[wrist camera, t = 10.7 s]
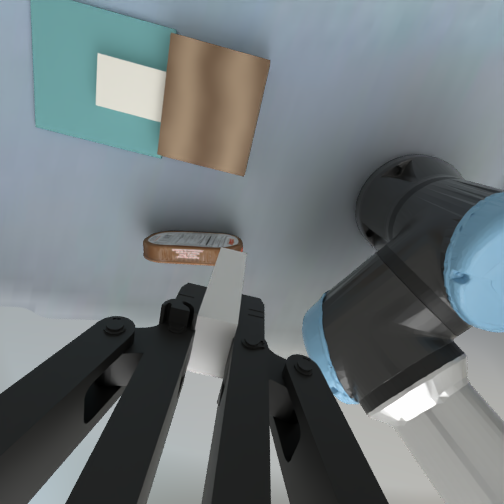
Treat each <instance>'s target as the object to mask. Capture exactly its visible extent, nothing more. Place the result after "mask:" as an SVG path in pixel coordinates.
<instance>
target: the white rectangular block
mask: <svg viewBox="0 0 504 504" xmlns="http://www.w3.org/2000/svg"><path fill="white" fill-rule="evenodd" d="M165 80H166V72H165V71H161V70H157V69H154V68H150V67H147V66H143V65H139V64H136V63H132V62H129V61H125V60H121V59H118V58H114V57H111V56H107V55H103V54H100V53H98V55H97V82H96V105H97V106H101V107H105V108H108V109H112V110H116V111H120V112H124V113H127V114H131V115H135V116H139V117H142V118H146V119H150V120H154V121H157V122H161V116H162V107H163V98H164V89H165Z"/></svg>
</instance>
